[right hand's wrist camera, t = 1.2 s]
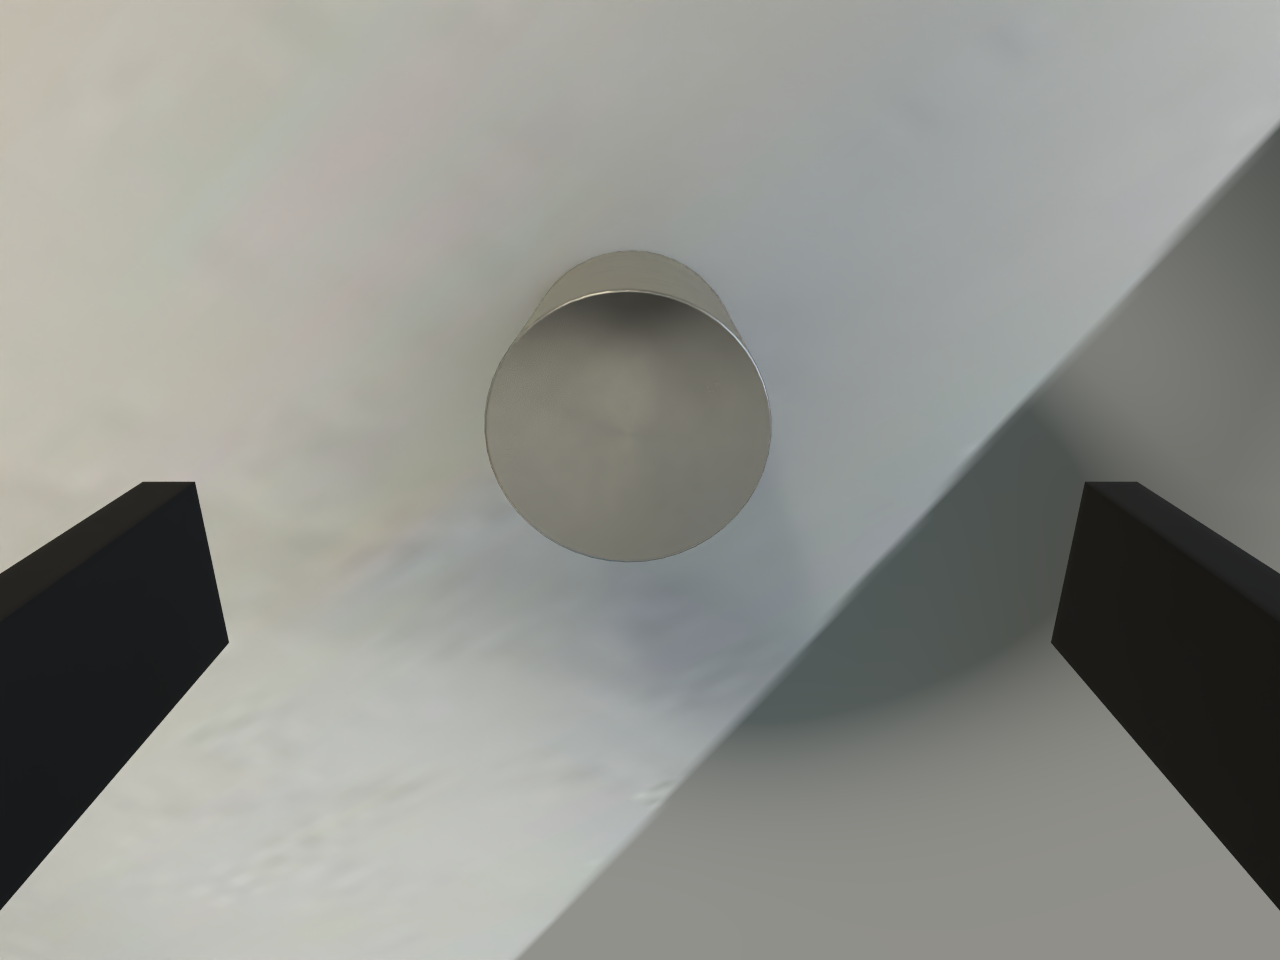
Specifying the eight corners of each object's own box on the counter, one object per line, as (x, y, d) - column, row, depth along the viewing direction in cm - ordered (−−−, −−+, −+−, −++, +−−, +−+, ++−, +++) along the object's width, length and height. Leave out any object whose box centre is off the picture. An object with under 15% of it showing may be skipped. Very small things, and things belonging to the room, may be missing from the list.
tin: (612, 492, 27) (602, 610, 20) (484, 336, 25) (423, 406, 18) (775, 378, 25) (826, 462, 18) (653, 204, 23) (658, 224, 16)
